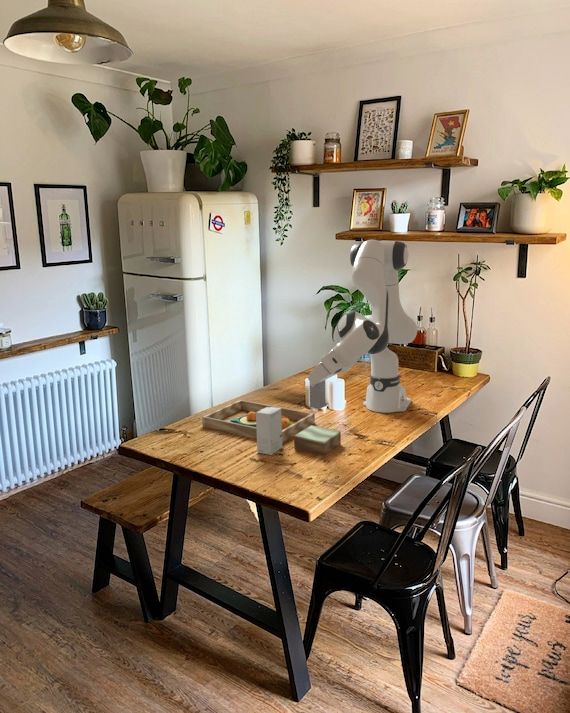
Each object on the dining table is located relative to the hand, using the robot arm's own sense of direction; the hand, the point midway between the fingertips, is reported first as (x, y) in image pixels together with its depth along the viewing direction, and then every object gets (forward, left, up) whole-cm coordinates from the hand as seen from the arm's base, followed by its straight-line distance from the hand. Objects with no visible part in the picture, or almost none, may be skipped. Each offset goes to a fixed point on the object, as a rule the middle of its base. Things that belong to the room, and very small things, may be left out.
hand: (315, 383), depth 211 cm
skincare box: (+11, -12, -24) cm, 29 cm away
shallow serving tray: (-8, -30, -23) cm, 39 cm away
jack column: (0, +1, -8) cm, 8 cm away
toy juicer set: (-5, -30, -24) cm, 38 cm away
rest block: (0, +1, -23) cm, 23 cm away
